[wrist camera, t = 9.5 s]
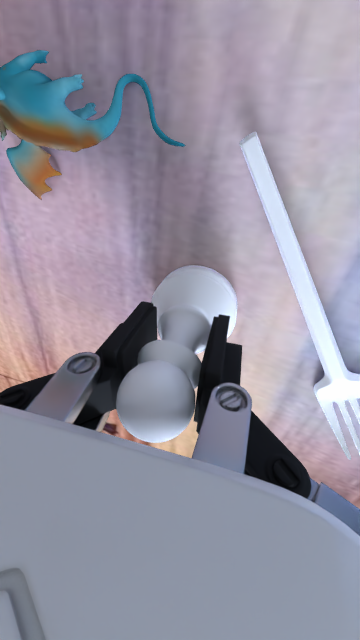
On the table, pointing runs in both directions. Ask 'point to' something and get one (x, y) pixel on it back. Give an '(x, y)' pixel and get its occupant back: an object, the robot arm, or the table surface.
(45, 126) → the dragon figurine
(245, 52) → the table surface
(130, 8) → the table surface
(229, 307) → the chess pawn
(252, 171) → the fork
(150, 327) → the robot arm
